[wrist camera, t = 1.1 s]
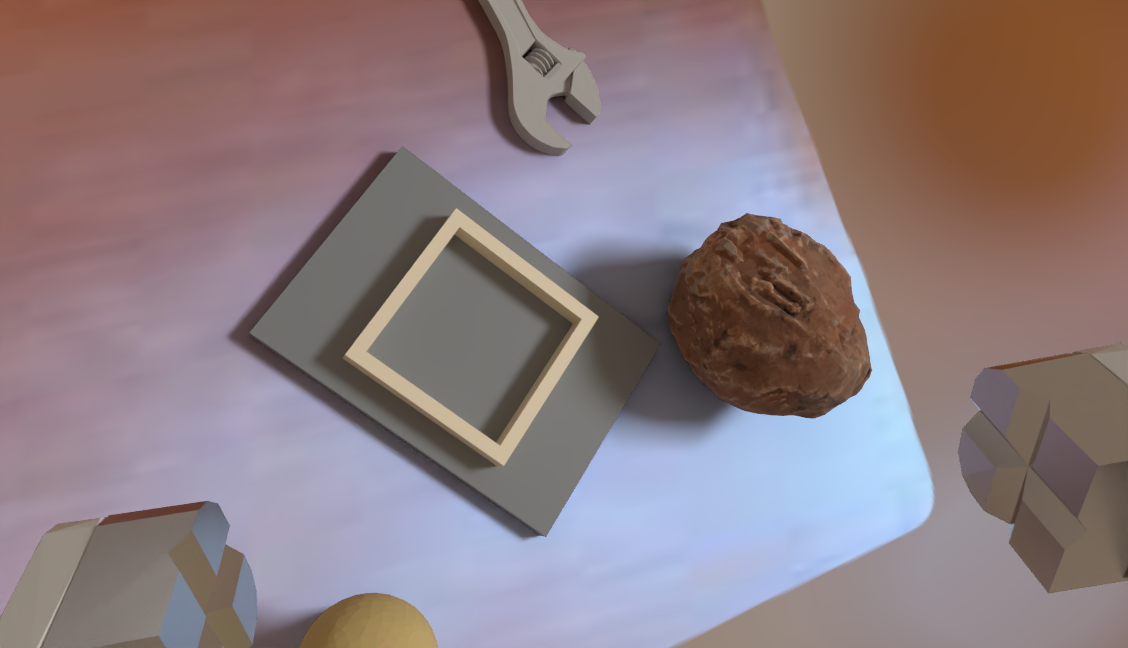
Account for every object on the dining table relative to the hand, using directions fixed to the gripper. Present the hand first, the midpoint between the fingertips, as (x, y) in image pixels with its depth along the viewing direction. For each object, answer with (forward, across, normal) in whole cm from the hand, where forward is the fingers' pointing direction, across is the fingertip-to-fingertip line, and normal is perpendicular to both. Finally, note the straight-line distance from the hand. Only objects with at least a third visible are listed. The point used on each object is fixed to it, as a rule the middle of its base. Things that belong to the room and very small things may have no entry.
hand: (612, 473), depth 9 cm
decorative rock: (+36, -13, +26) cm, 47 cm away
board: (+33, +4, +21) cm, 39 cm away
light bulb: (+21, +12, +31) cm, 39 cm away
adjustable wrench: (+51, -2, +5) cm, 51 cm away
